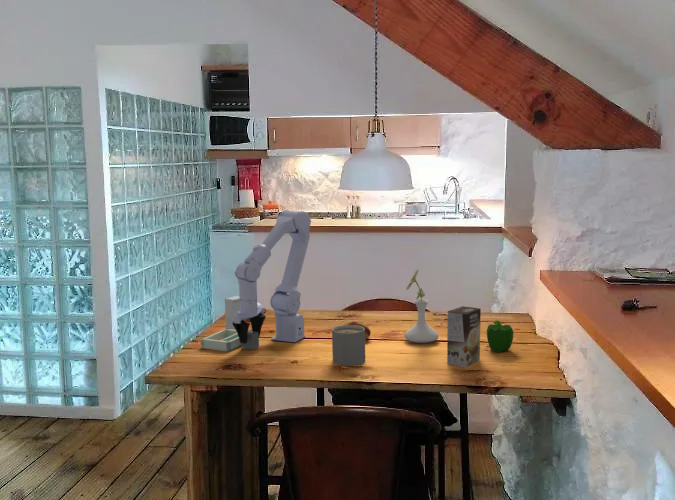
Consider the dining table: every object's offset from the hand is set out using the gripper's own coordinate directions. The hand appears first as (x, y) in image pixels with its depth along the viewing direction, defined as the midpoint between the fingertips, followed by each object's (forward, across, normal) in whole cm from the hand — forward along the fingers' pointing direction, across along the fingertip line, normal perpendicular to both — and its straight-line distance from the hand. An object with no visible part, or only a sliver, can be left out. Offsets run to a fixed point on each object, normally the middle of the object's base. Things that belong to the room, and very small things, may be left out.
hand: (250, 339), depth 217 cm
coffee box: (+3, -11, +68) cm, 69 cm away
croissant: (+3, -22, +28) cm, 36 cm away
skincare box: (+3, -17, -18) cm, 25 cm away
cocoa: (+3, -35, -22) cm, 41 cm away
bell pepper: (+2, -27, +76) cm, 80 cm away
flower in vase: (+3, -27, +50) cm, 56 cm away
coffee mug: (+3, -1, +36) cm, 36 cm away
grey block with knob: (+3, 0, 0) cm, 3 cm away
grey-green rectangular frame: (+3, -1, -10) cm, 10 cm away
